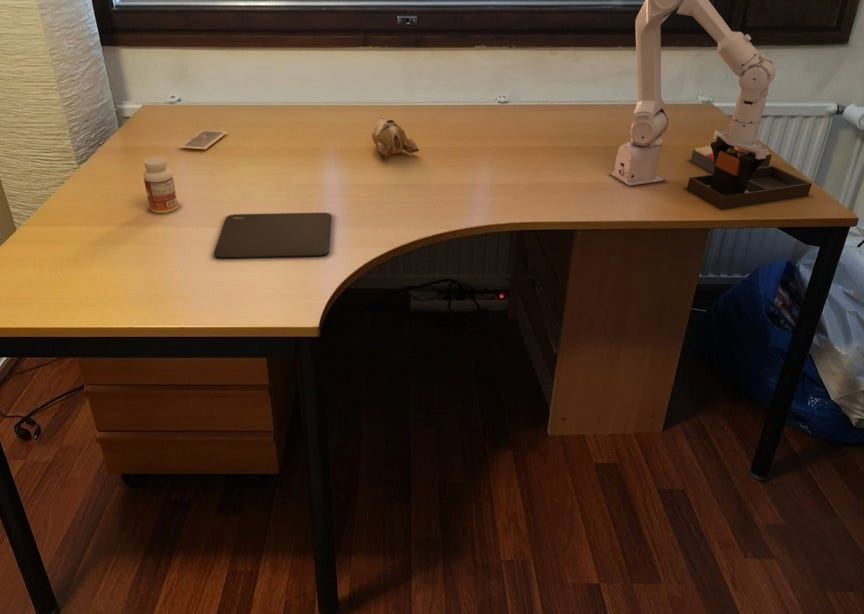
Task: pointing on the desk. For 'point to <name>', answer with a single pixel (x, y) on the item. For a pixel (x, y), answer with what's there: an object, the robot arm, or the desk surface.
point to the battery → (727, 172)
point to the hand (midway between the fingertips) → (730, 179)
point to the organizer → (753, 188)
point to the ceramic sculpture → (391, 138)
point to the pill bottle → (159, 185)
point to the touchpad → (203, 139)
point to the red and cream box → (706, 158)
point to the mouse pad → (274, 235)
